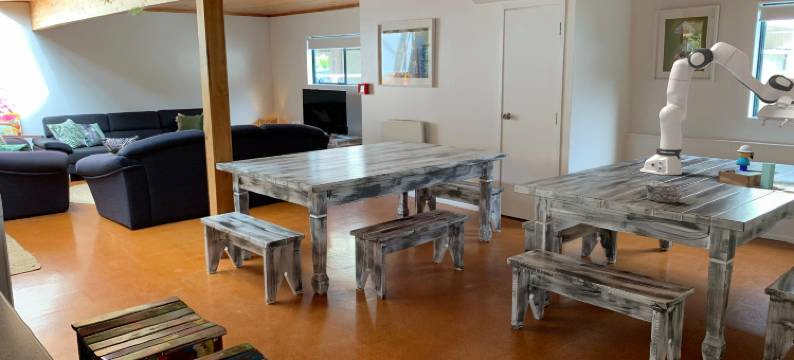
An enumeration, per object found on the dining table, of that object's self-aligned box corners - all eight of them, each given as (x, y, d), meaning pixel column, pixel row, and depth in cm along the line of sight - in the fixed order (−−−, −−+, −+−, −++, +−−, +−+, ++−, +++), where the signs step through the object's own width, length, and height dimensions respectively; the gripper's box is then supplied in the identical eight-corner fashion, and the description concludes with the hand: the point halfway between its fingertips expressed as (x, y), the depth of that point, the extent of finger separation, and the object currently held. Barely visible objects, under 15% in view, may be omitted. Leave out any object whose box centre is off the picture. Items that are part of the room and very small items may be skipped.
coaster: (755, 189, 310) (755, 187, 310) (759, 187, 317) (759, 185, 317) (773, 191, 305) (773, 189, 305) (777, 189, 312) (777, 187, 311)
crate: (731, 181, 332) (733, 169, 331) (762, 186, 318) (763, 174, 316) (717, 183, 326) (718, 171, 325) (747, 189, 312) (748, 176, 311)
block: (764, 186, 313) (767, 162, 311) (772, 187, 310) (775, 163, 308) (760, 187, 312) (762, 163, 309) (767, 188, 308) (770, 164, 306)
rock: (639, 199, 287) (644, 178, 284) (646, 195, 293) (651, 175, 290) (673, 210, 278) (679, 189, 274) (680, 206, 284) (685, 185, 280)
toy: (754, 171, 360) (757, 146, 358) (737, 171, 362) (740, 145, 359) (749, 169, 369) (751, 144, 366) (733, 169, 370) (735, 143, 367)
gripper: (762, 100, 324) (749, 119, 321) (803, 102, 306) (789, 123, 304) (766, 108, 327) (753, 128, 324) (807, 111, 309) (793, 132, 307)
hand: (771, 125), depth 314 cm, fingers open, 8 cm apart
